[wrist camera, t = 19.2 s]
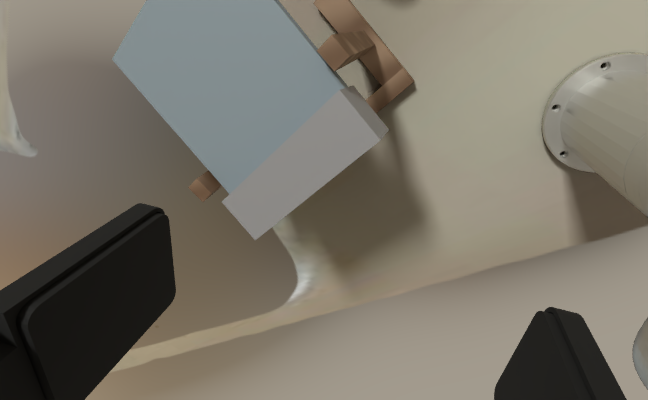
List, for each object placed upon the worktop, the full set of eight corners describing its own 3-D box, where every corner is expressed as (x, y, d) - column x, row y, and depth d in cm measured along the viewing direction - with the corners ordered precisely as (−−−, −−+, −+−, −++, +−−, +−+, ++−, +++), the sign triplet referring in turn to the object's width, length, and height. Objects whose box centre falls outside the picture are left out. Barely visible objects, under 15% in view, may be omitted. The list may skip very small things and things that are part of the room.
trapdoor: (388, 129, 32) (380, 140, 28) (274, 221, 39) (255, 240, 35) (219, -80, 30) (185, -100, 26) (133, 59, 37) (96, 59, 33)
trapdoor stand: (413, 80, 42) (408, 111, 27) (293, 183, 52) (241, 246, 37) (334, -18, 40) (281, -42, 25) (224, 109, 50) (139, 147, 35)
